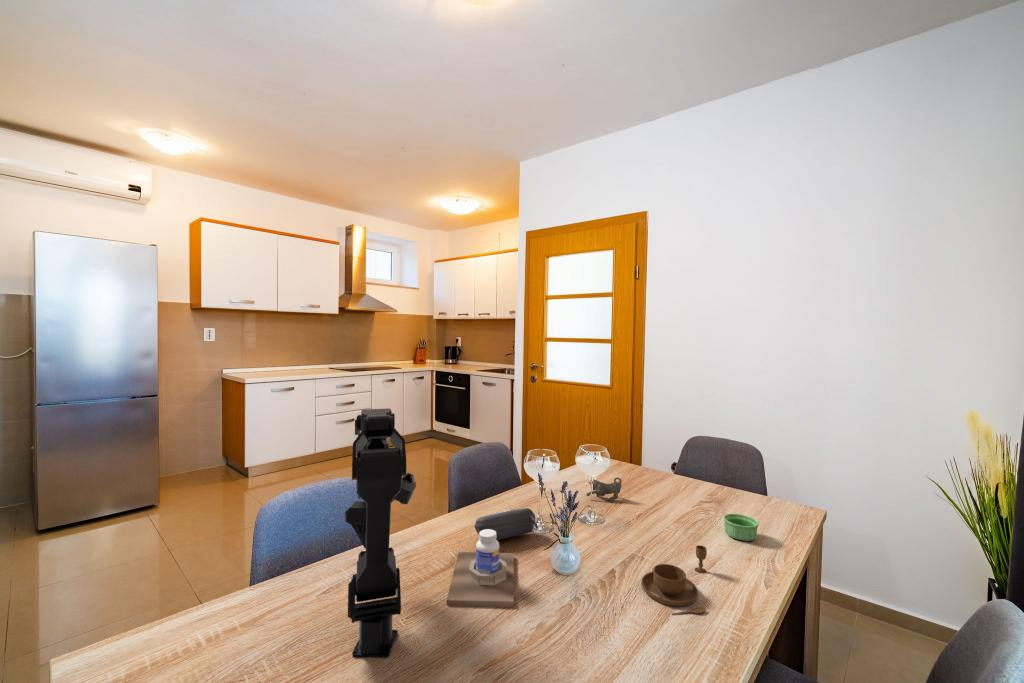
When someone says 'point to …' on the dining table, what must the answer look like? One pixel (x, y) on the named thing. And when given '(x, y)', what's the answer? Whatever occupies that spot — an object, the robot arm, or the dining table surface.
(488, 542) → the pill bottle
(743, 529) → the ramekin
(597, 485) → the dog figurine
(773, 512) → the dining table surface
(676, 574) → the place setting
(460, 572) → the socket board
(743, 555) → the dining table surface
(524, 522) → the glasses case
